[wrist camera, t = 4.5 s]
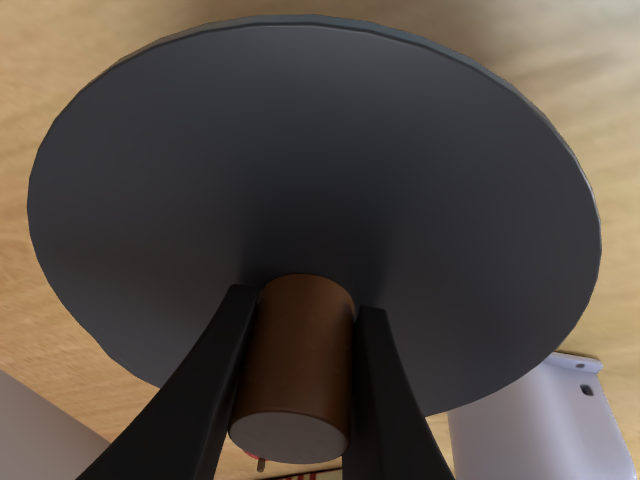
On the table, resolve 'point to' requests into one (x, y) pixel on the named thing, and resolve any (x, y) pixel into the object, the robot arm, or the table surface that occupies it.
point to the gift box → (319, 476)
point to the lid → (315, 217)
